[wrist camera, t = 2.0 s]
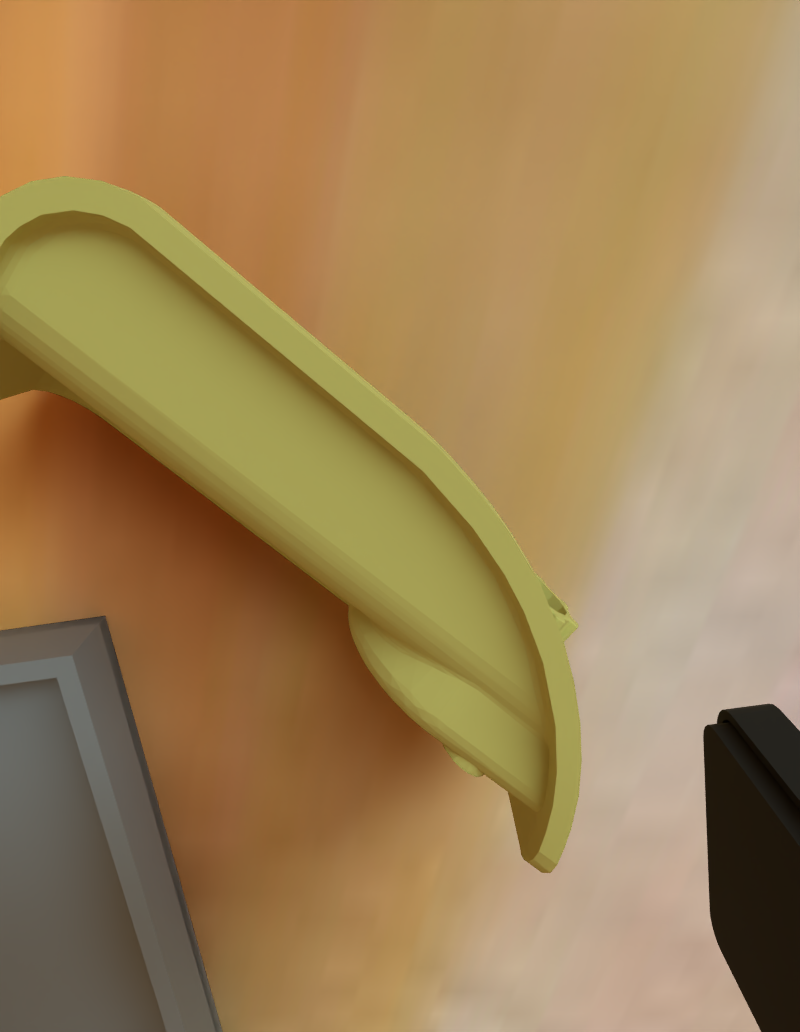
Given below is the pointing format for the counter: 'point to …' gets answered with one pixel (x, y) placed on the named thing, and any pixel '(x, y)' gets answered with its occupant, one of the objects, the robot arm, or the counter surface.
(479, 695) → the plastic component
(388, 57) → the counter surface
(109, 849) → the tray
